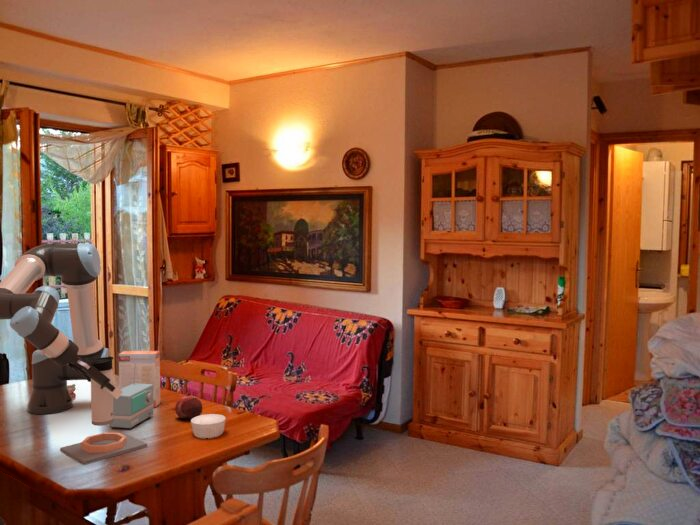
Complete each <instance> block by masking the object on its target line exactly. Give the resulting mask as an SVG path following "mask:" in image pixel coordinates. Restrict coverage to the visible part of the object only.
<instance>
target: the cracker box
mask: <svg viewBox="0 0 700 525" xmlns="http://www.w3.org/2000/svg"><path fill="white" fill-rule="evenodd" d="M160 353H161V352H160V350H123V351H122V352H120V353H118V379H119V380H118V382H119V383H118V384H119V386H118V388H119V389H122V388H124V387H127V386H129V385H131V384H133V383H134V370H135V362H136V371H135V383H139V384H153V405H154V406H153V407H154V408H157V407H159V405H160V404H161V364H160V363H161V361H160V359H161V358H160Z"/></svg>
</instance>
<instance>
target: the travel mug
mask: <svg viewBox="0 0 700 525" xmlns="http://www.w3.org/2000/svg"><path fill="white" fill-rule="evenodd" d="M113 360H114V357H113V356H110V355H109V357H103V358H98V359H95V360H92V361H91V364H92V365H93V366H94V367H95V368H96V369H98V370H99V371H100V372H101V373H103V374H104V375H105V376H106V377H107V378H109V379H110V382H112V383H113V382H114V381H113V380H114V376H113V375H114V372H113V369H114V368H113ZM113 384H114V383H113ZM100 387H101V385H100V384H98V383H97V382H96V381H94V380H93V379H91V382H90V402H91V403H90V404H91V406H90V408H91V409H90V410H91V416H90V417H91V424H92V425H93V426H97V427H98V426H99V427H100V426H107V425H109V424H111V423H112V422H113V396H112V395H111V394H109V393H108V392H107V391H106V390H105V389H101V388H100Z"/></svg>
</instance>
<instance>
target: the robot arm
mask: <svg viewBox="0 0 700 525" xmlns="http://www.w3.org/2000/svg"><path fill="white" fill-rule="evenodd" d="M101 271H102V267H101V257H100V254H99V250H98V249H97V247H96V246H95V245H94V244H92V243H82V242H79V243H78V242H77V243H74V242H73V243H71V242H70V243H67V242H66V243H62V242H61V243H55V242H54V243H53V242H52V243H50V242H49V243H44V244H41V245H37V246H35V247H31V248H30V249H28V250H27V251H25V252H24V253H23V254H21V255H20V256H19V257H18V258H17V259H16V261H15V263H14V267H13V268H12V269H11V271H10V272H9V273H8V274H6V276H5V277H4V278H3V279H2V280H1V282H0V321H1V320H2V321H3V320H10V321H9V326H10V328H11V329H12V330H13V331H14V332H16V333H17V335H18V336H19V337H21V338H23V339H24V340H26V341H27V342H28V343H29V344H31V346H33V347H35V348H36V350H34V351H33V353H32V354H31V363H30V364H31V376H32V378H31V379H32V390H31V394H30V397H29V400H28V402H27V403H28V404H27V412H28V413H30V414H35V415H49V414H56V413H61V412H65V411H67V410H69V409H70V410H71V408H73V398H72V395H71V393H70V390H69V387H68V382H67V381H87V382H89V383H91V379H93V380H94V381H96V382H97V383H98V384H100V385H101V387H100V388H101V389H105V390H106V391H107V392H108V393H109V394H111V395H112V396H113V397H114V398H116V399H118V398H119V396H120V395H121V394H122V393H123V392H122V391H121V390H120V389H119V386H118V387H117V386H116V384H114V383H112V382H110V379H109V378H107V377H106V376H105V375H104V374H103V373H101V372H100V371H99V370H98V369H96V368H95V367H94V366H93V365H92V364H91V361H92V360H95V359H98V358H103V357H109V356H110V351H109V350H110V349H109V348H107V347H104V343H103V341H101V340H100V339H99V334H98V325H97V316H96V315H97V314H96V305H95V296H94V293H95V292H94V285H93V284H94V283H95V282H96V281H97V277H99V276H100V274H101ZM45 277H60V280H61V284H63V285H64V286H65V287H66V291H67V300H68V309H69V317H70V318H69V319H70V325H71V335H72V340H71V339H70V338H69V337H68V336H67V335H66V334H65V333H63V332H62V331H61V330H60V329H58V328H57V327H56V326H54V325H53V324H52V322H53V320H54V317H55V314H56V312H57V310H58V308H59V303H60V299H61V298H60V297H61V296H60V294H59V292H58V290H56V289H55V288H53V287H52V286H48V285H42V286H40V287H37V288H36V289H35V290H34V291H33V292H32V293H31V292H30V293H28V292H27V291H29V289H30V288H31V287H32V285H33V284H34V283H35V281H39V280H41V279H42V278H45Z"/></svg>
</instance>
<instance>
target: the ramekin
mask: <svg viewBox="0 0 700 525" xmlns="http://www.w3.org/2000/svg"><path fill="white" fill-rule="evenodd" d="M226 419H227V418H226V416H224V415H223V414H219V413H218V414H217V413H209V414H208V413H207V414H200V415H199V416H197V417H194V418H193V419H190V424H191V427H192V432H193V435H194V436H195V437H196V438H198V439H206V438H208V439H215V438H218V437H220V436H221V435H222V434H223V433H224V430H225V426H226ZM214 437H215V438H214Z"/></svg>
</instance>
